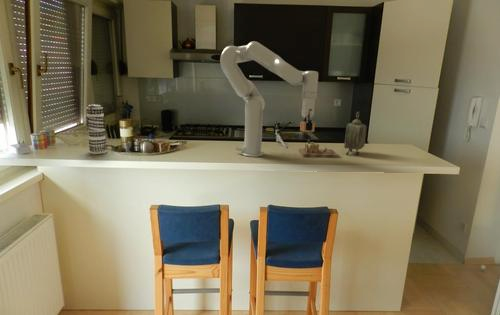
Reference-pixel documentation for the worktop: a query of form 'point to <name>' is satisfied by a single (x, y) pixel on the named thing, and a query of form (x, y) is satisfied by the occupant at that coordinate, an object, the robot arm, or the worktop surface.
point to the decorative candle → (96, 129)
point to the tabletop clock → (355, 135)
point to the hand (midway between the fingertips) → (307, 128)
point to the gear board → (317, 151)
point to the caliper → (280, 140)
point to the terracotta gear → (303, 127)
